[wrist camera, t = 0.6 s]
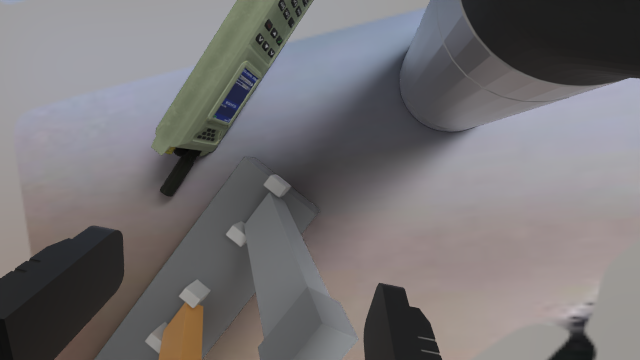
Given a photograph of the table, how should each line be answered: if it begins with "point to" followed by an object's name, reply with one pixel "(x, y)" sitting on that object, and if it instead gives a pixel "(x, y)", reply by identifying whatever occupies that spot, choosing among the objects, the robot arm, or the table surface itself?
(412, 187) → the table surface
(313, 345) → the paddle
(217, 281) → the pegged base beam
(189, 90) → the handheld radio
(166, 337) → the orange paddle
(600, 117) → the table surface
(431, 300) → the table surface
